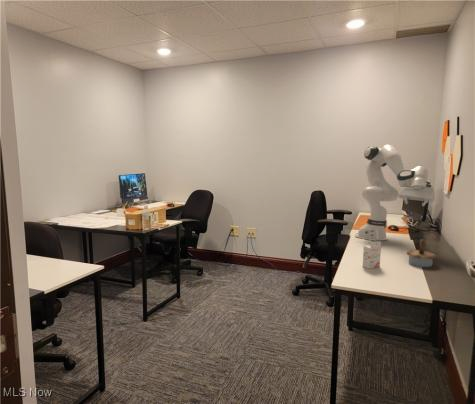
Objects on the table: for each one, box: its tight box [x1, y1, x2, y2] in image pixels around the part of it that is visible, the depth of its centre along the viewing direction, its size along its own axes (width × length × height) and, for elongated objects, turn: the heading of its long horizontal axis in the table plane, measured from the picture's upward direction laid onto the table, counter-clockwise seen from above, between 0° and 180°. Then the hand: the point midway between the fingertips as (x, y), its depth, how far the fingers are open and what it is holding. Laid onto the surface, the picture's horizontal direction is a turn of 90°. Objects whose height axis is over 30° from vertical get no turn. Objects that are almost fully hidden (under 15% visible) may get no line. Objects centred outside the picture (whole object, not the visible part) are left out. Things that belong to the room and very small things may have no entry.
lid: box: [406, 238, 437, 260], centre depth 196 cm, size 15×15×9 cm
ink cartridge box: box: [362, 240, 382, 269], centre depth 189 cm, size 9×5×15 cm, turn 117°
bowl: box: [408, 255, 434, 268], centre depth 197 cm, size 12×12×5 cm
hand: (414, 204), depth 214 cm, fingers open, 8 cm apart
